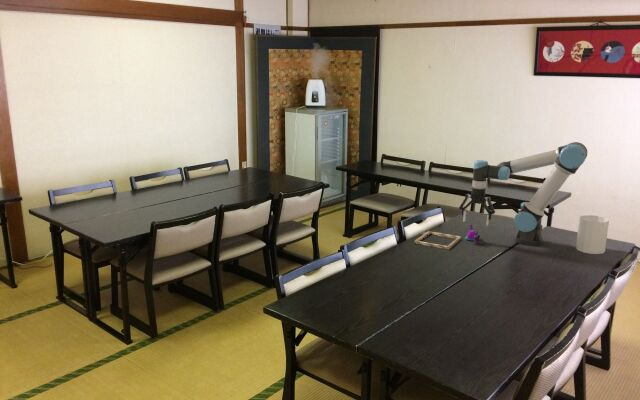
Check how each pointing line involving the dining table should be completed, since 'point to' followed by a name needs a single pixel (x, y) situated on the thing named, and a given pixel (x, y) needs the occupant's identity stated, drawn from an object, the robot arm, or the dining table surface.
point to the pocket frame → (424, 234)
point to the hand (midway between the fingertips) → (475, 223)
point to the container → (592, 234)
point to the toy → (472, 234)
